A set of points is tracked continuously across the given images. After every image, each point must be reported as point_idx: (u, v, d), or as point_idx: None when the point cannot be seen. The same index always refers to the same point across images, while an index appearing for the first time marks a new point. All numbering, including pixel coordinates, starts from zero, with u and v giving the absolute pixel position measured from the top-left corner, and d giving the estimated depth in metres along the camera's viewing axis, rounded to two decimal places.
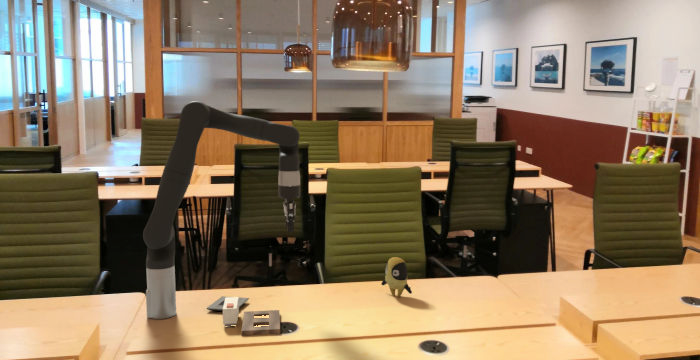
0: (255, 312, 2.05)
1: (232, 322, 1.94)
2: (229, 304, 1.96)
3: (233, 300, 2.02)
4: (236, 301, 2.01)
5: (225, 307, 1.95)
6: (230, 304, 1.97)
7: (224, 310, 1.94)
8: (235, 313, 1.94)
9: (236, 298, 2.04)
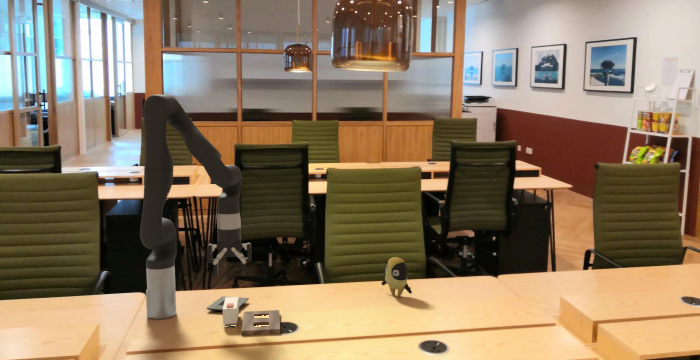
0: (255, 312, 2.05)
1: (232, 322, 1.94)
2: (229, 304, 1.96)
3: (233, 300, 2.02)
4: (236, 301, 2.01)
5: (225, 307, 1.95)
6: (230, 304, 1.97)
7: (224, 310, 1.94)
8: (235, 313, 1.94)
9: (236, 298, 2.04)
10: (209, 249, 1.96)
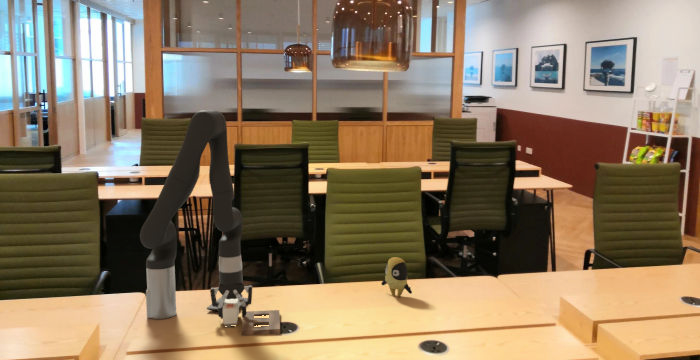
0: (255, 312, 2.05)
1: (232, 322, 1.94)
2: (229, 304, 1.96)
3: (233, 300, 2.02)
4: (236, 301, 2.01)
5: (225, 307, 1.95)
6: (230, 304, 1.97)
7: (224, 310, 1.94)
8: (235, 313, 1.94)
9: None
10: (212, 293, 1.97)
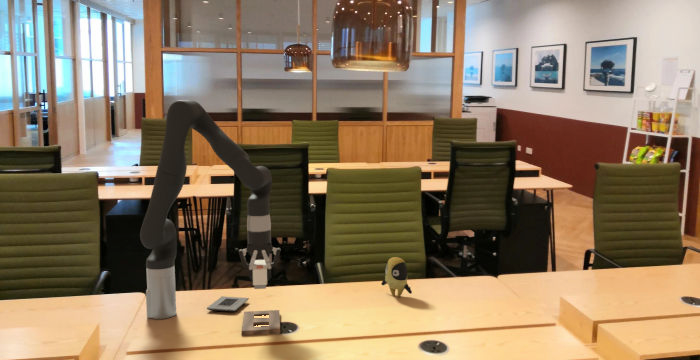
0: (255, 312, 2.05)
1: (262, 283, 1.90)
2: (259, 265, 1.92)
3: (262, 262, 1.98)
4: (265, 263, 1.97)
5: (255, 268, 1.91)
6: (260, 265, 1.92)
7: (254, 271, 1.89)
8: (265, 274, 1.90)
9: None
10: (241, 255, 1.93)
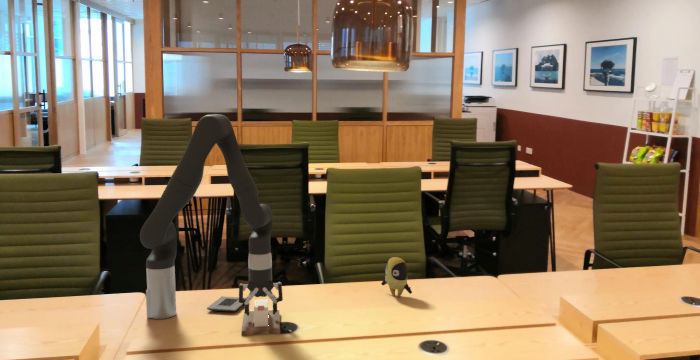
0: None
1: (263, 325, 1.92)
2: (260, 306, 1.94)
3: (263, 302, 2.00)
4: (266, 303, 1.98)
5: (256, 310, 1.92)
6: (261, 306, 1.94)
7: (255, 313, 1.91)
8: (266, 316, 1.92)
9: (266, 300, 2.02)
10: (240, 289, 1.94)
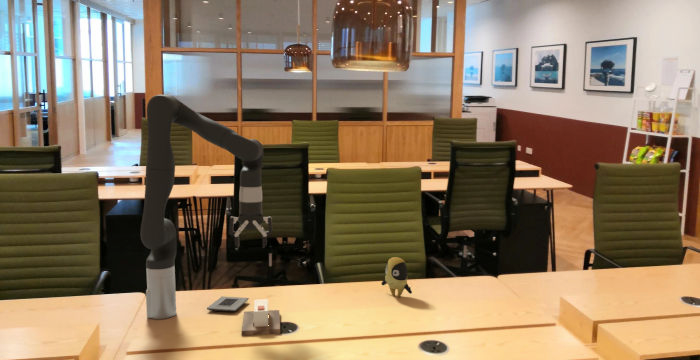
0: None
1: (263, 325, 1.92)
2: (260, 306, 1.94)
3: (263, 302, 2.00)
4: (266, 303, 1.98)
5: (256, 310, 1.92)
6: (261, 306, 1.94)
7: (255, 313, 1.91)
8: (266, 316, 1.92)
9: (266, 300, 2.02)
10: (231, 221, 1.99)
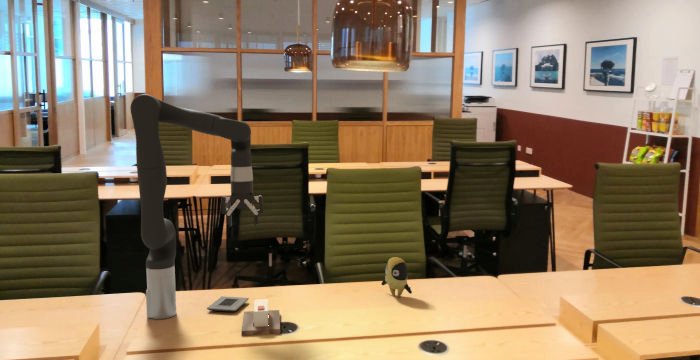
0: None
1: (263, 325, 1.92)
2: (260, 306, 1.94)
3: (263, 302, 2.00)
4: (266, 303, 1.98)
5: (256, 310, 1.92)
6: (261, 306, 1.94)
7: (255, 313, 1.91)
8: (266, 316, 1.92)
9: (266, 300, 2.02)
10: (223, 201, 2.06)
